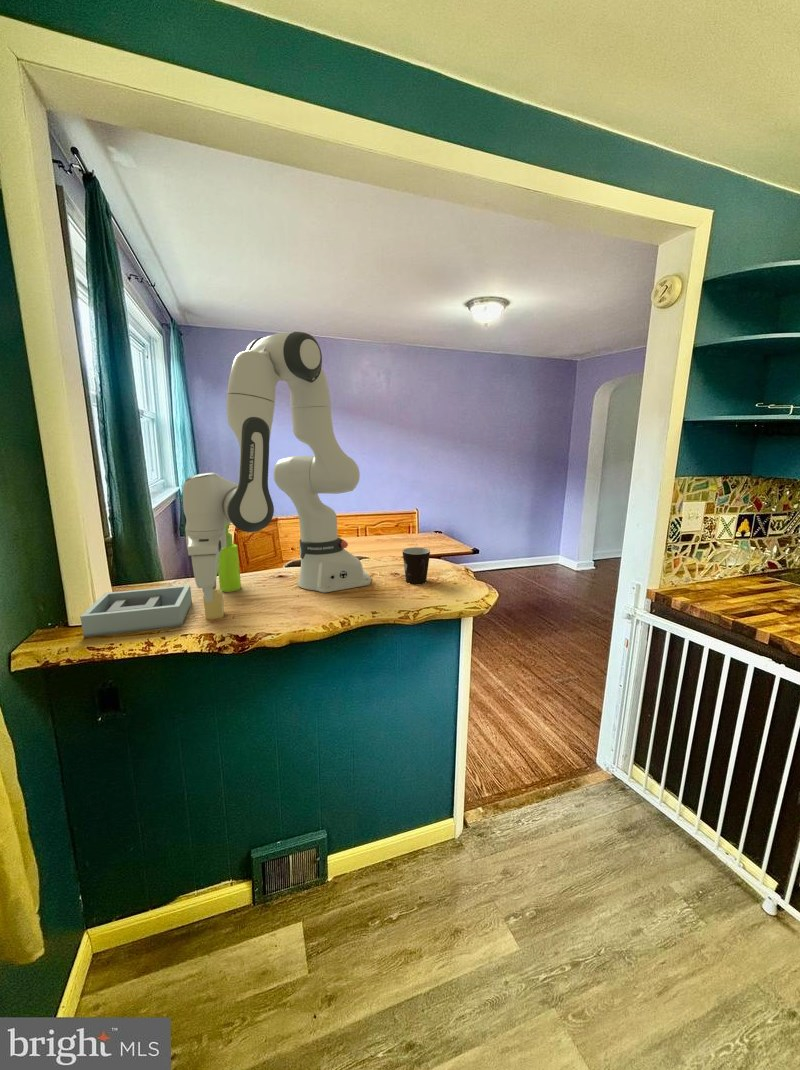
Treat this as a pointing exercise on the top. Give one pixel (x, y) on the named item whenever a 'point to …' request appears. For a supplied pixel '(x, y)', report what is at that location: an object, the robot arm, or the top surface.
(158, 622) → the caddy
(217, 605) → the connector
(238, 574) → the soap dispenser
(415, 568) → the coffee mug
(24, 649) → the top surface
